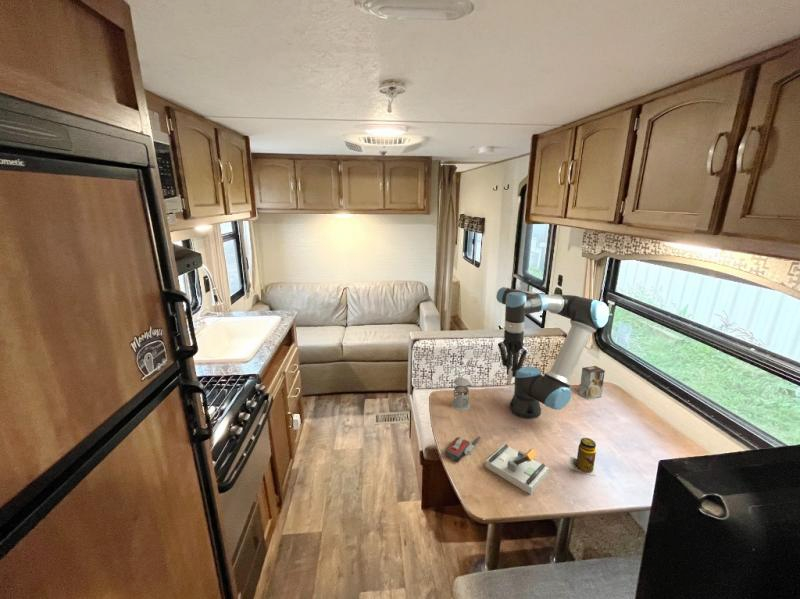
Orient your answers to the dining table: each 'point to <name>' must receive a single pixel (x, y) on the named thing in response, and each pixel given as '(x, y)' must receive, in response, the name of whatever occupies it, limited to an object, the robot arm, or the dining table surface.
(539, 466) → the panel
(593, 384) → the coffee box
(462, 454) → the walkie-talkie
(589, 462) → the condiment
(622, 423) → the dining table surface
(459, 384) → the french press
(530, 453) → the lever
